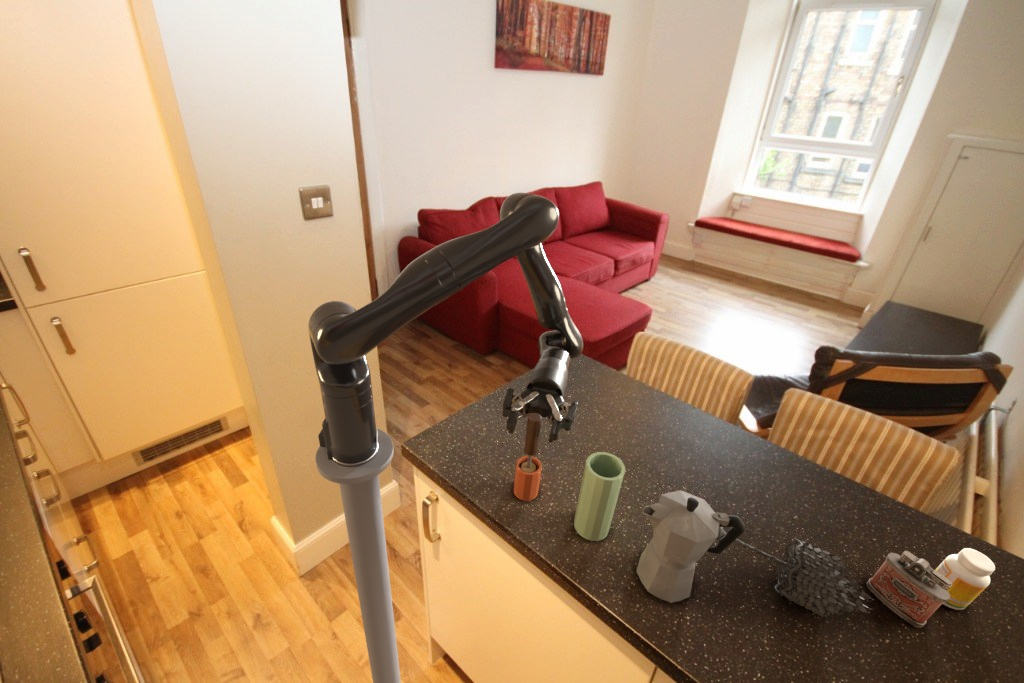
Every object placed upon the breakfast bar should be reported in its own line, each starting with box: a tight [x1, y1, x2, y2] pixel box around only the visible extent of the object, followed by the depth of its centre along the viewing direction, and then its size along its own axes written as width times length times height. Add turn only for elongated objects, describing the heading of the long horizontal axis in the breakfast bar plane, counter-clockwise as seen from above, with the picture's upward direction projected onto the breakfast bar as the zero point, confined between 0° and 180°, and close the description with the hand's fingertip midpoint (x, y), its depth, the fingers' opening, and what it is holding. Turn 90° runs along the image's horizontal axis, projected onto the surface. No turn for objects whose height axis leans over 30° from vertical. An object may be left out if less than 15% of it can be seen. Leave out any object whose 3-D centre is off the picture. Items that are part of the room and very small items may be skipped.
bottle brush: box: [521, 413, 542, 473], centre depth 83 cm, size 3×3×18 cm
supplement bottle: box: [935, 547, 996, 611], centre depth 72 cm, size 5×5×10 cm
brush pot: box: [513, 455, 543, 502], centre depth 85 cm, size 5×5×7 cm
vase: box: [573, 451, 626, 542], centre depth 78 cm, size 6×6×15 cm
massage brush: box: [715, 527, 875, 620], centre depth 72 cm, size 9×22×9 cm, turn 58°
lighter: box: [866, 550, 952, 629], centre depth 70 cm, size 8×3×10 cm, turn 27°
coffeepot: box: [635, 489, 747, 604], centre depth 69 cm, size 15×9×18 cm, turn 85°
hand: (530, 434), depth 77 cm, fingers open, 6 cm apart
